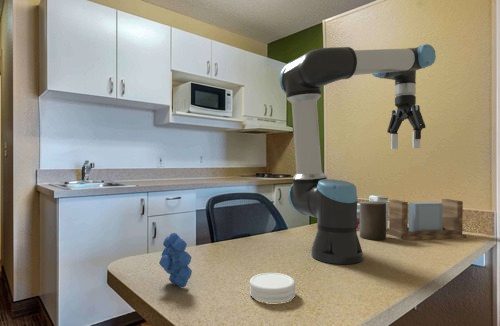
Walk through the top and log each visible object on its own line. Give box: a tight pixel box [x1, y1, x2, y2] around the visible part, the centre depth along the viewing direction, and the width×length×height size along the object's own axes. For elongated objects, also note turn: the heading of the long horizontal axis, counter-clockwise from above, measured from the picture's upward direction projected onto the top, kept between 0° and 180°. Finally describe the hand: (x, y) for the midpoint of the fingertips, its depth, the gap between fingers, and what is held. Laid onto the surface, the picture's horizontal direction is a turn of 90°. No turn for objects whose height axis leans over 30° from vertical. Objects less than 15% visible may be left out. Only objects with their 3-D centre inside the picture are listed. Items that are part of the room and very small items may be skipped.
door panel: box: [408, 201, 443, 231], centre depth 127 cm, size 12×4×12 cm, turn 99°
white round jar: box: [249, 272, 296, 303], centre depth 69 cm, size 10×10×4 cm
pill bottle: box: [357, 203, 360, 232], centre depth 137 cm, size 6×6×11 cm
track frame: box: [386, 198, 467, 241], centre depth 127 cm, size 26×12×14 cm, turn 99°
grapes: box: [158, 232, 193, 288], centre depth 74 cm, size 12×7×12 cm, turn 41°
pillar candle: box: [359, 200, 387, 241], centre depth 123 cm, size 10×10×15 cm
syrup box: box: [368, 194, 389, 231], centre depth 138 cm, size 6×6×14 cm
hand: (404, 148), depth 127 cm, fingers open, 13 cm apart
